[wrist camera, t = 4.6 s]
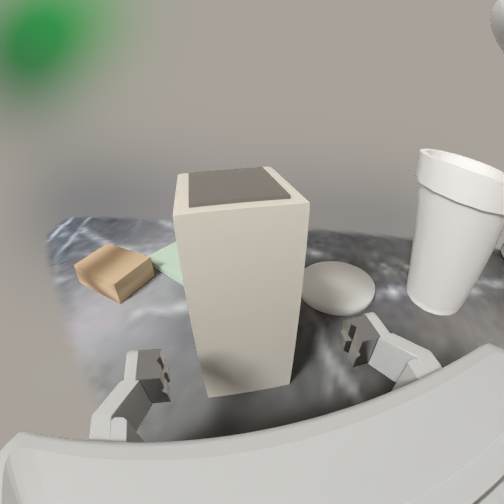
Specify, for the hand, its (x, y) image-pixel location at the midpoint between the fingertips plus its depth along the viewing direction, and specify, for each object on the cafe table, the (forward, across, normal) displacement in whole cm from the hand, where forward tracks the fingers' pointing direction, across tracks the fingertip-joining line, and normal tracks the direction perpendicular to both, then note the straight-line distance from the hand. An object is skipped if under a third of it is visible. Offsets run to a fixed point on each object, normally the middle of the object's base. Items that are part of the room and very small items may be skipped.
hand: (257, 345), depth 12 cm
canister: (+5, 0, +6) cm, 8 cm away
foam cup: (+6, -19, +7) cm, 21 cm away
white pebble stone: (+10, -10, +7) cm, 16 cm away
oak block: (+16, +11, +7) cm, 21 cm away
